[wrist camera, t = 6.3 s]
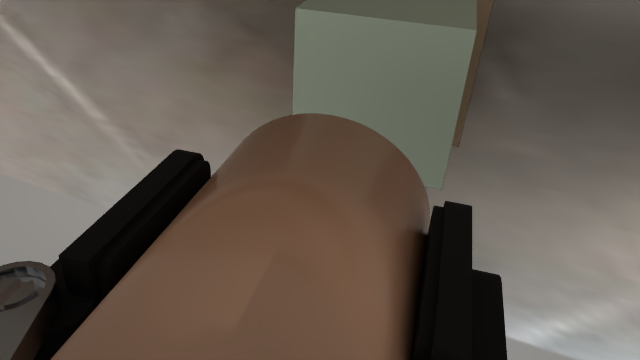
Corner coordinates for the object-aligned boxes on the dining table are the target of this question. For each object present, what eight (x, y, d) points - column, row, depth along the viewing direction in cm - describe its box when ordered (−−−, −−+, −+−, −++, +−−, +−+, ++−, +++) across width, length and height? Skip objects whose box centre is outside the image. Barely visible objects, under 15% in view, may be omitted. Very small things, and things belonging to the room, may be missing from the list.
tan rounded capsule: (450, 135, 10) (420, 473, 4) (410, 310, 13) (360, 667, 7) (221, 96, 11) (-55, 333, 5) (228, 267, 14) (48, 551, 8)
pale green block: (476, -1, 20) (476, 30, 16) (448, 134, 23) (441, 189, 19) (330, -17, 21) (295, 8, 17) (322, 114, 24) (290, 162, 20)
